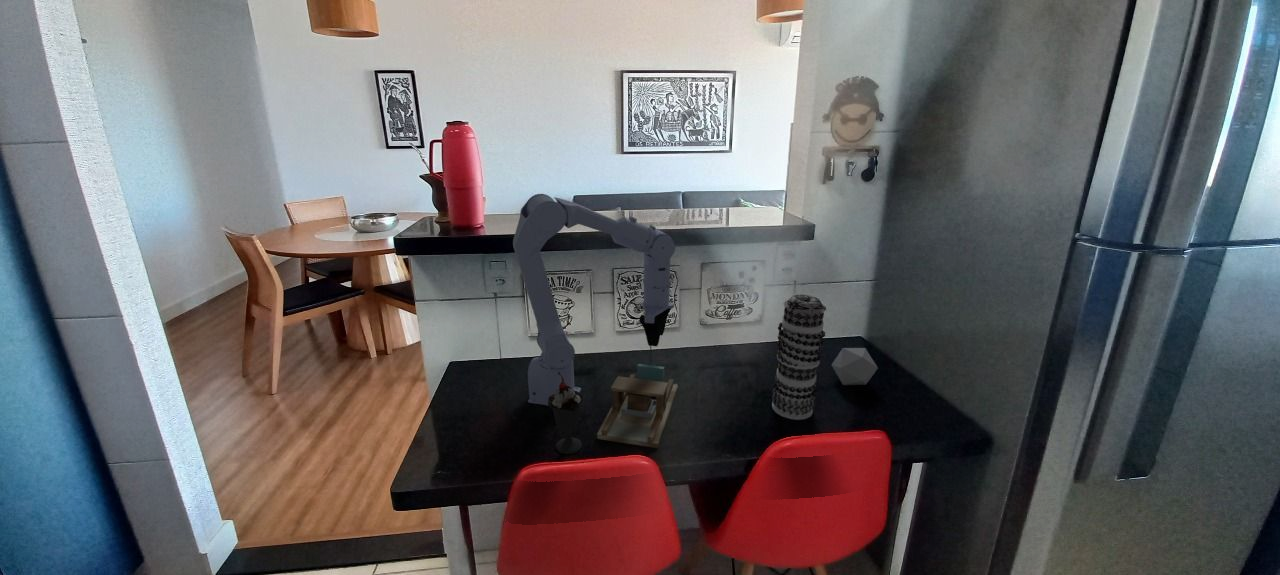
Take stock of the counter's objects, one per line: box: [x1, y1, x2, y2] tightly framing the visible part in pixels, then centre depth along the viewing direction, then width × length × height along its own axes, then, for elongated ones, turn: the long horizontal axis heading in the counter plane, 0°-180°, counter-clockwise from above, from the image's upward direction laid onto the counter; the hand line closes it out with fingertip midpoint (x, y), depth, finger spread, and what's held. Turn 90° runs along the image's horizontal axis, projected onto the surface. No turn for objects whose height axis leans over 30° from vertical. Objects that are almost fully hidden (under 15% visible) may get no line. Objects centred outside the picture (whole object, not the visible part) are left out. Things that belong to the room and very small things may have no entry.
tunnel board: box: [596, 373, 679, 449], centre depth 105 cm, size 12×22×7 cm, turn 166°
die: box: [831, 347, 879, 386], centre depth 116 cm, size 8×9×10 cm
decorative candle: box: [771, 294, 827, 421], centre depth 103 cm, size 9×9×25 cm
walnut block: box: [628, 393, 651, 412], centre depth 104 cm, size 4×4×4 cm
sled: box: [621, 363, 665, 419], centre depth 108 cm, size 6×14×5 cm, turn 166°
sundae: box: [547, 372, 586, 455], centre depth 92 cm, size 7×7×15 cm
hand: (655, 339), depth 116 cm, fingers open, 5 cm apart
